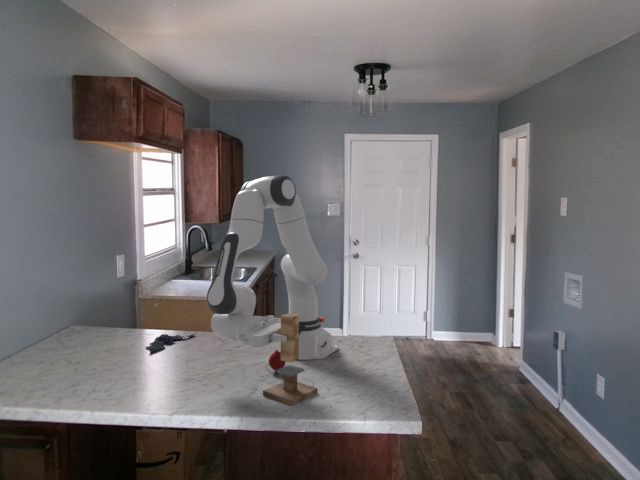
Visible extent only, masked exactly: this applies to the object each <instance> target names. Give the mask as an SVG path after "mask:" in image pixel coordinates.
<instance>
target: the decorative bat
mask: <svg viewBox="0 0 640 480" xmlns="http://www.w3.org/2000/svg"><path fill="white" fill-rule="evenodd" d="M197 333H198V332H194V333H193V334H189V335H186V336H187V337H189V338H187V339H188V340H189V339H191V338H192V337H193V336H195V335H196V334H197ZM182 336H183V337H184V336H185V335H180V334H176V335H169V334H166V333H164V334H162V333H161V334H160V335H159V336H156V337H155V339H154V341H153V342H150V343H149V345H148V346H146V347H145V349H146V350H148V351H149V353H152V352H160V351H164V350H166V346H165V345H164V344H166V345H168V346H169V345H174V343H177V342H178V341H180V342H181V340H182V341H187V339H186V338H185V337H184V338H185V339H183V337H182Z"/></svg>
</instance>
